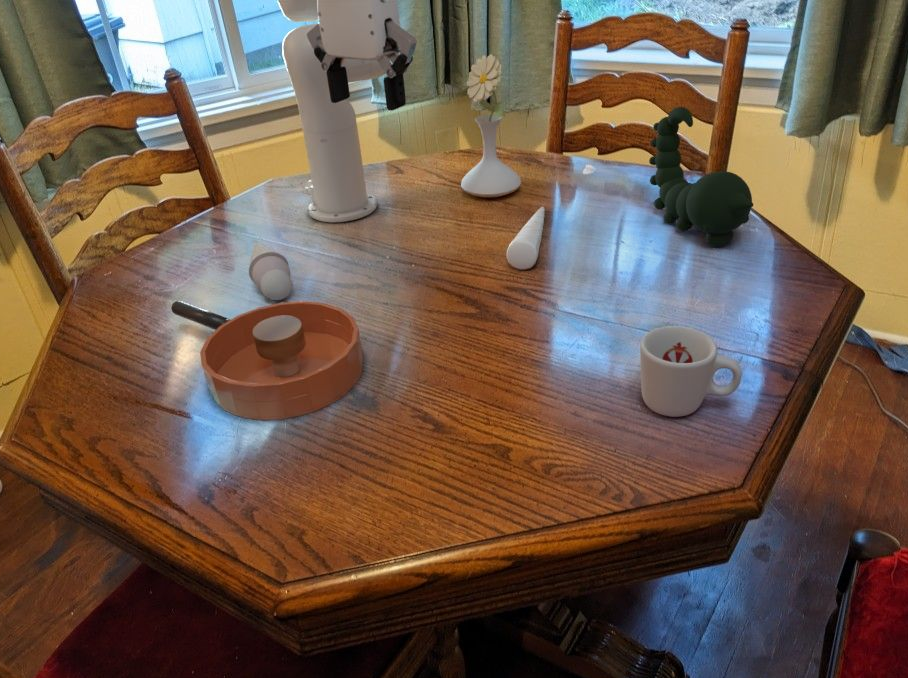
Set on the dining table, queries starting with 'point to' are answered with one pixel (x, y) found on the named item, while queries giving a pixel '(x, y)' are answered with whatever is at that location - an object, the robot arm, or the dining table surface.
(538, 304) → the dining table surface
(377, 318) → the dining table surface
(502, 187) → the flower in vase
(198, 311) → the pan handle
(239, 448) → the dining table surface
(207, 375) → the pan
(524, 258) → the unicorn horn
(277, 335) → the mushroom
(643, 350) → the cup
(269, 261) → the ice cream cone
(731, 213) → the toy figurine
